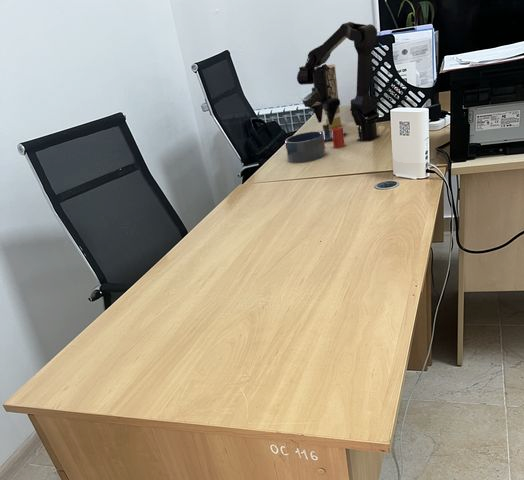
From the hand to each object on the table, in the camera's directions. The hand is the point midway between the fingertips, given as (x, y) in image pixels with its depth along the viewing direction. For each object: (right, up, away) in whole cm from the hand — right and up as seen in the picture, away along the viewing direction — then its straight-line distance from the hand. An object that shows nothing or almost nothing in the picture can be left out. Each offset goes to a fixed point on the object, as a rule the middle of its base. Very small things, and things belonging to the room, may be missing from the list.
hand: (325, 123), depth 230 cm
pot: (-9, -20, -17) cm, 28 cm away
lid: (+1, -4, +3) cm, 5 cm away
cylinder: (+4, -15, -13) cm, 20 cm away
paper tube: (+6, +5, +17) cm, 19 cm away
